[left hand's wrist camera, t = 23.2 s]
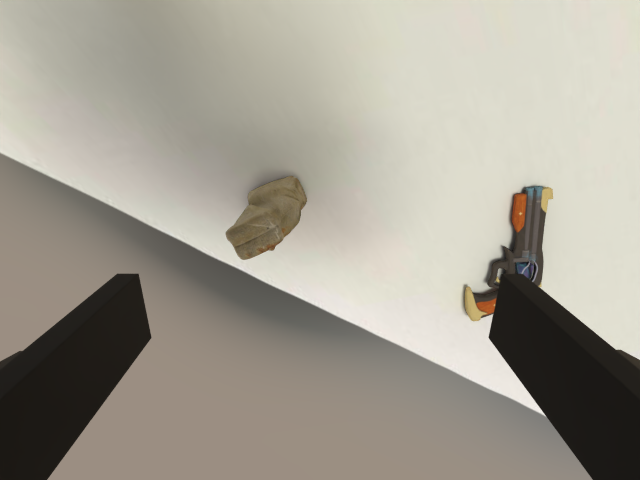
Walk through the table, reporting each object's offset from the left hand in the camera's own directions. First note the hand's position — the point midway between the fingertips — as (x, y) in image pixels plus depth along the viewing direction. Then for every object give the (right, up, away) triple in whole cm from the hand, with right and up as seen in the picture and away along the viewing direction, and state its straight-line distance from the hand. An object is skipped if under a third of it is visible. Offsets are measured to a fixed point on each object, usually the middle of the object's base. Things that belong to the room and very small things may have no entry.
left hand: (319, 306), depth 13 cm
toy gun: (+25, 0, +36) cm, 44 cm away
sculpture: (-5, +8, +33) cm, 35 cm away
